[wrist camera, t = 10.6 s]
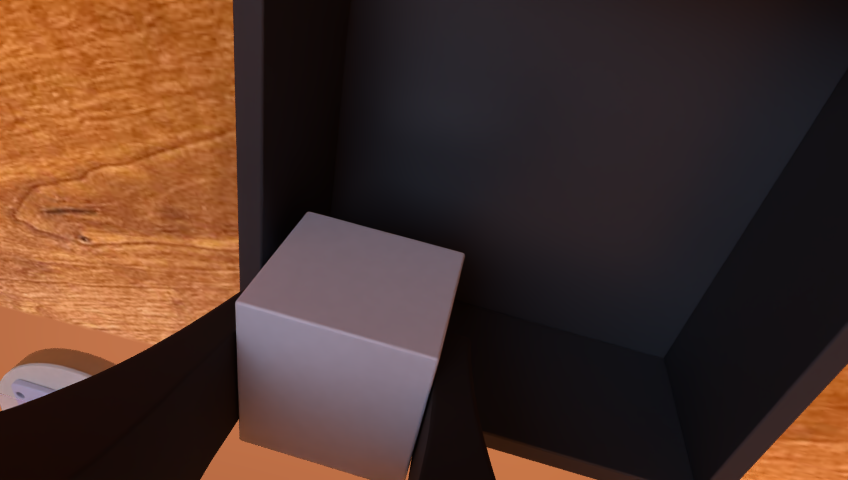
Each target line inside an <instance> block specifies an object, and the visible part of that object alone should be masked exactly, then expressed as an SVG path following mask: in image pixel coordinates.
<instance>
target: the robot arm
mask: <svg viewBox="0 0 848 480" xmlns="http://www.w3.org/2000/svg"><path fill="white" fill-rule="evenodd" d="M246 288H247V287H246ZM246 288H245V289H246ZM245 289H243V290H242V291H240V292H239V293H237V294H236V295H234V296H233V297H231V298H230V299H229V300H227V301H226V302H224V303H222V304H221V305H219V306H218V307H216V308H215V309H213V310H212V311H210V312H209V313H207V314H206V315H204V316H202V317H201V318H199V319H198V320H196V321H194V322H193V323H191V324H190V325H188V326H186V327H185V328H183V329H181V330H180V331H178V332H176V333H175V334H173V335H171V336H169V337H168V338H166V339H164V340H162V341H161V342H159V343H157V344H155V345H154V346H152V347H150V348H148V349H147V350H145V351H143V352H141V353H139V354H137V355H135V356H133V357H131V358H129V359H127V360H125V361H123V362H121V363H119V364H117V365H115V366H113V367H111V368H109V369H107V370H105V371H103V372H100V373H98V374H96V375H94V376H91V377H89V378H87V379H84V380H82V381H80V382H77V383H75V384H72V385H70V386H67V387H65V388H62V389H60V390H54V389H51V388H48V387H44V386H41V385H38V384H35V383H31V382H28V381H25V380H21V379H17V380H15V381H14V382H13V383H12V384H11V388H12V390H13V393H14V395H15V398H16V400H17V403H18V406H15V407H12V408H9V409H6V410H3V411H0V480H200V479H201V477H202V476H203V474H204V472H205V470H206V469H207V467H208V465H209V464H210V462H211V460H212V459H213V457H214V456H215V454H216V453H217V451H218V450H219V448H220V447H221V445H222V444H223V442H224V441H225V439H226V438H227V436H228V435H229V433H230V432H231V430H232V428H233V427H234V425H235V424H236V422H237V421H238V419H239V403H238V372H237V341H236V310H235V303H236V300H237V299H238V298H239V297H240V295H241V294H242V293H243V292H244V290H245ZM408 480H496V479H495V476H494V472H493V469H492V466H491V462H490V459H489V455H488V451H487V447H486V444H485V440H484V436H483V432H482V427H481V423H480V418H479V413H478V408H477V402H476V397H475V391H474V384H473V376H472V366H471V341H470V340H469V338H468V337H464V336H461V335H457V334H454V333H450V332H446V335H445V339H444V343H443V347H442V351H441V355H440V360H439V363H438V367H437V370H436V374H435V377H434V381H433V384H432V388H431V391H430V395H429V398H428V402H427V405H426V409H425V412H424V416H423V419H422V423H421V426H420V430H419V433H418V437H417V440H416V444H415V447H414V451H413V454H412V459H411V465H410V472H409V478H408Z"/></svg>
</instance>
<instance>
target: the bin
mask: <svg viewBox="0 0 848 480" xmlns="http://www.w3.org/2000/svg"><path fill="white" fill-rule="evenodd" d="M233 24H234V64H235V105H236V146H237V187H238V228H239V268H240V291H242V290H243V289H245V288H246V287H248V285H249V284H250V283H251V282H252V280H253V279H254V278H255V277H256V275H257V274H258V273H259V272H260V270H261V269H262V268H263V267H264V265H265V264H266V263H267V262H268V260H269V259H270V258H271V257H272V255H273V254H274V253H275V252H276V250H277V249H278V248H279V247H280V245H281V244H282V243H283V242H284V240H285V239H286V238H287V237H288V235H289V234H290V233H291V232H292V230H293V229H294V228H295V227H296V225H297V224H298V223H299V222H300V220H301V219H302V218H303V217H304V215H305V214H306V213H307V212H314V213H317V214H321V215H325V216H328V217H332V218H336V219H339V220H343V221H347V222H351V223H354V224H358V225H362V226H365V227H369V228H373V229H377V230H380V231H384V232H388V233H391V234H395V235H399V236H402V237H406V238H410V239H414V240H417V241H421V242H425V243H428V244H432V245H436V246H440V247H443V248H447V249H451V250H454V251H458V252H462V253H464V254H465V258H464V262H463V266H462V270H461V275H460V279H459V283H458V287H457V291H456V295H455V299H454V303H453V307H452V311H451V315H450V319H449V323H448V327H447V331H446V332H450V333H454V334H457V335H461V336H464V337H468V338H469V340H470V341H471V366H472V376H473V384H474V391H475V397H476V402H477V408H478V413H479V418H480V423H481V427H482V432H483V436H484V440H485V444H486V447H488V448H492V449H495V450H498V451H502V452H505V453H509V454H512V455H515V456H519V457H522V458H526V459H529V460H532V461H536V462H539V463H542V464H546V465H549V466H553V467H556V468H560V469H563V470H566V471H569V472H573V473H576V474H580V475H583V476H586V477H590V478H593V479H597V480H740V479H741V478H742V477H743V475H744V474H745V473H746V472H747V471H748V470H749V469H750V468H751V467H752V466H753V465H754V464H755V463H756V462H757V460H758V459H759V458H760V457H761V456H762V455H763V454H764V453H765V452H766V451H767V450H768V449H769V448H770V447H771V445H772V444H773V443H774V442H775V441H776V440H777V439H778V438H779V437H780V436H781V435H782V434H783V433H784V431H785V430H786V429H787V428H788V427H789V426H790V425H791V424H792V423H793V422H794V421H795V420H796V419H797V418H798V416H799V415H800V414H801V413H802V412H803V411H804V410H805V409H806V408H807V407H808V406H809V405H810V404H811V403H812V401H813V400H814V399H815V398H816V397H817V396H818V395H819V394H820V393H821V392H822V391H823V390H824V389H825V387H826V386H827V385H828V384H829V383H830V382H831V381H832V380H833V379H834V378H835V377H836V376H837V375H838V374H839V372H840V371H841V370H842V369H843V368H844V367H845V366H846V365H847V364H848V0H233Z"/></svg>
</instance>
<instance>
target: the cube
mask: <svg viewBox="0 0 848 480" xmlns="http://www.w3.org/2000/svg"><path fill="white" fill-rule="evenodd" d="M464 258H465V254H464V253H462V252H458V251H454V250H451V249H447V248H443V247H440V246H436V245H432V244H428V243H425V242H421V241H417V240H414V239H410V238H406V237H402V236H399V235H395V234H391V233H388V232H384V231H380V230H377V229H373V228H369V227H365V226H362V225H358V224H354V223H351V222H347V221H343V220H339V219H336V218H332V217H328V216H325V215H321V214H317V213H314V212H307V213H306V214H305V215H304V217H303V218H302V219H301V220H300V222H299V223H298V224H297V225H296V227H295V228H294V229H293V230H292V232H291V233H290V234H289V235H288V237H287V238H286V239H285V240H284V242H283V243H282V244H281V245H280V247H279V248H278V249H277V250H276V252H275V253H274V254H273V255H272V257H271V258H270V259H269V260H268V262H267V263H266V264H265V265H264V267H263V268H262V269H261V270H260V272H259V273H258V274H257V275H256V277H255V278H254V279H253V280H252V282H251V283H250V284H249V285H248V287H247V288H246V289H245V290H244V292H243V293H242V294H241V295H240V297H239V298H238V299H237V300H236V303H235V310H236V341H237V372H238V403H239V431H240V432H239V433H240V439H241V440H242V441H245V442H248V443H252V444H255V445H258V446H261V447H265V448H268V449H271V450H275V451H278V452H281V453H285V454H288V455H291V456H294V457H297V458H301V459H304V460H307V461H311V462H314V463H317V464H320V465H324V466H327V467H330V468H334V469H337V470H340V471H344V472H347V473H350V474H353V475H357V476H360V477H363V478H367V479H370V480H405V479H406V475H407V471H408V468H409V465H410V461H411V458H412V454H413V451H414V447H415V444H416V440H417V437H418V433H419V430H420V426H421V423H422V419H423V416H424V412H425V409H426V405H427V402H428V398H429V395H430V391H431V388H432V384H433V381H434V377H435V374H436V370H437V367H438V363H439V360H440V355H441V351H442V347H443V343H444V339H445V335H446V331H447V327H448V323H449V319H450V315H451V311H452V307H453V303H454V299H455V295H456V291H457V287H458V283H459V279H460V275H461V270H462V266H463V262H464Z"/></svg>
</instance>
